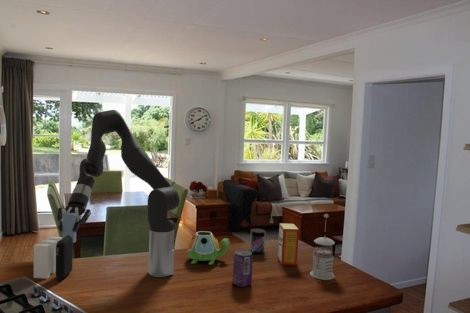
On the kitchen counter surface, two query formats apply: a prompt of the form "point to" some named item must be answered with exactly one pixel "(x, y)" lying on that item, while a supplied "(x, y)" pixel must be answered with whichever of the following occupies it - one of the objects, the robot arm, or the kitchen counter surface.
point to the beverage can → (242, 268)
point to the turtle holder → (206, 247)
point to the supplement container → (257, 241)
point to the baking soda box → (288, 244)
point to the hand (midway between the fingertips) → (67, 230)
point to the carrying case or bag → (64, 257)
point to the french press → (323, 259)
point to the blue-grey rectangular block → (68, 225)
